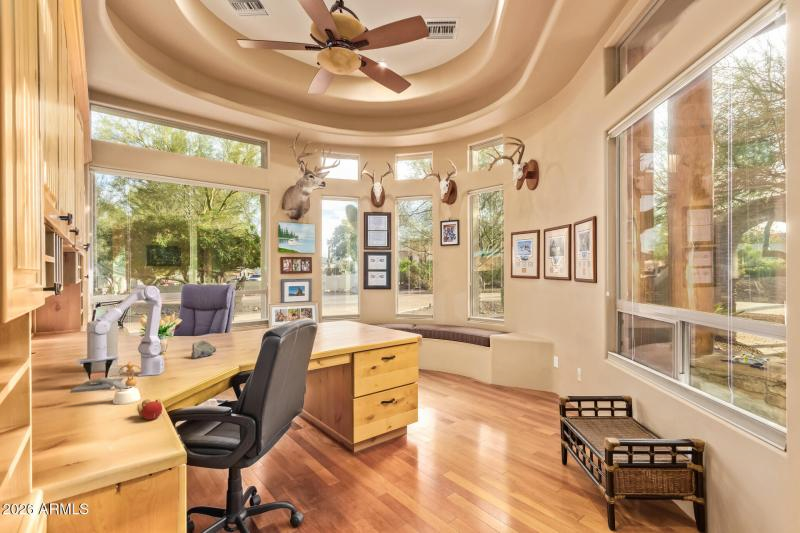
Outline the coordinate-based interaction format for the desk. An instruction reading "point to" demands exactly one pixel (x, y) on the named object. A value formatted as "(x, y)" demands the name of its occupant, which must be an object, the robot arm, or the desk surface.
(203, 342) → the mineral rock
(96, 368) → the cylinder vase
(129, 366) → the figurine
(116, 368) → the cream brick
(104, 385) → the baseplate
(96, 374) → the terracotta brick
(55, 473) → the desk surface
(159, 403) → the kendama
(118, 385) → the inkwell
